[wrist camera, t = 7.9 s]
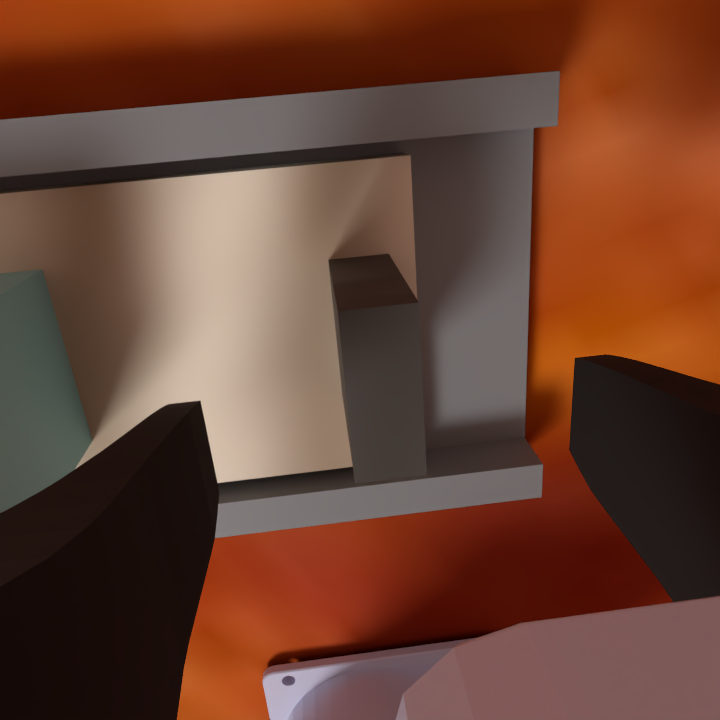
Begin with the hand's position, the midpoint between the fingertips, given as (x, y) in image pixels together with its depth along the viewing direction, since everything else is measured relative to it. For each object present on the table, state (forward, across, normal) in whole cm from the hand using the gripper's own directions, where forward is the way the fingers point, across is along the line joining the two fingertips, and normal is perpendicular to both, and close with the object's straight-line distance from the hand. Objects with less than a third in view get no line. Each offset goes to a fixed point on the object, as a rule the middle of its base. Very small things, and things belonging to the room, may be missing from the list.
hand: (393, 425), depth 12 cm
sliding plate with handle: (+7, +7, 0) cm, 10 cm away
